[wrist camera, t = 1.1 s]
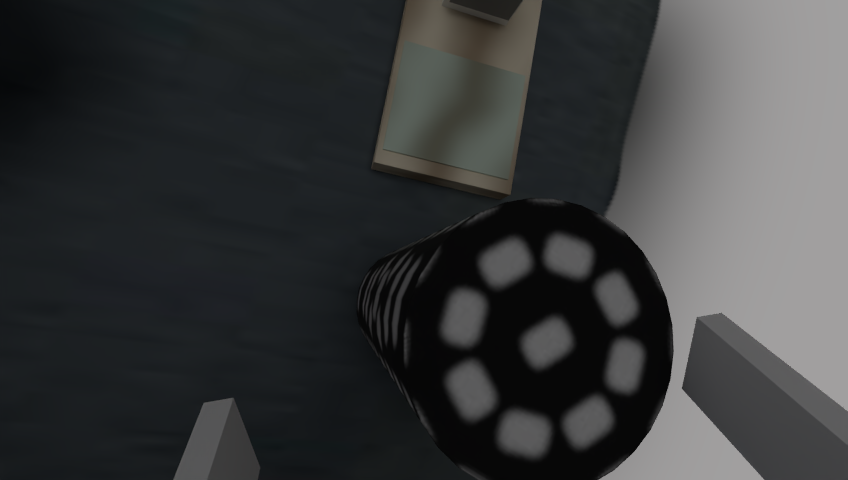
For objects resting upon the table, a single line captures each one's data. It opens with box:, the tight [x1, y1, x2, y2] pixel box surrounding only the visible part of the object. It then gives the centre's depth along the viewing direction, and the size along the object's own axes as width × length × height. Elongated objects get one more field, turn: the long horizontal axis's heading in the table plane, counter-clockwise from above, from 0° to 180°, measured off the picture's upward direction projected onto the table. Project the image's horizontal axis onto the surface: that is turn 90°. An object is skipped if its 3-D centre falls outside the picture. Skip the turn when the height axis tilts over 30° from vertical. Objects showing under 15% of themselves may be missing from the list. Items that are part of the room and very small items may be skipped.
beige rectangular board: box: [371, 0, 542, 200], centre depth 33 cm, size 10×18×2 cm, turn 169°
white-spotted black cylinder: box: [357, 198, 673, 480], centre depth 23 cm, size 8×8×20 cm
